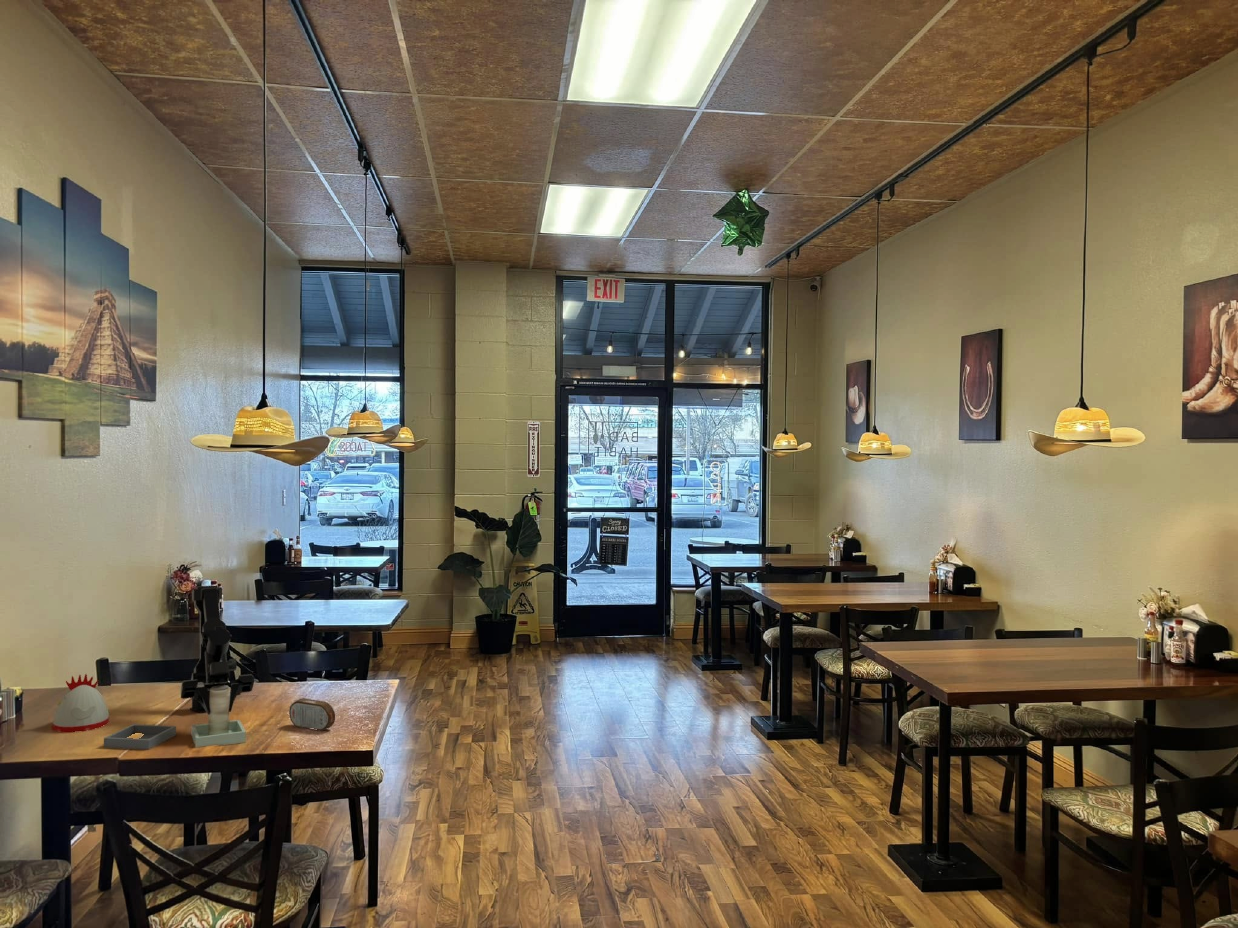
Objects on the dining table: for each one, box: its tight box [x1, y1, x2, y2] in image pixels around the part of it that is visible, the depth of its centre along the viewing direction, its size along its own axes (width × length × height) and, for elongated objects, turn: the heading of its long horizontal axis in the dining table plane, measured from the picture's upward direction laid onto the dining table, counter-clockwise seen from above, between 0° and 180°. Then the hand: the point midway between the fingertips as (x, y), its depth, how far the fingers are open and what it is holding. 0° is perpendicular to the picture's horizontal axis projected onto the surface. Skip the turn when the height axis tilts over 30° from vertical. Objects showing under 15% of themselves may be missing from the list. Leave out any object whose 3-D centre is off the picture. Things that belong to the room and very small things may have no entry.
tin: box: [288, 697, 336, 731], centre depth 249 cm, size 15×3×8 cm, turn 71°
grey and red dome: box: [52, 673, 110, 733], centre depth 245 cm, size 14×14×15 cm
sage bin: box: [190, 719, 247, 748], centre depth 236 cm, size 13×13×3 cm
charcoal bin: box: [103, 723, 177, 751], centre depth 231 cm, size 13×13×3 cm
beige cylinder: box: [208, 685, 231, 736], centre depth 236 cm, size 5×5×13 cm
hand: (219, 712), depth 235 cm, fingers closed on beige cylinder, 5 cm apart
